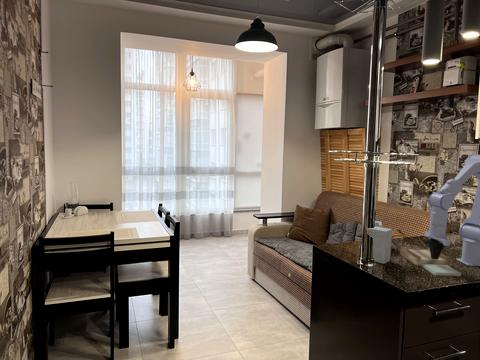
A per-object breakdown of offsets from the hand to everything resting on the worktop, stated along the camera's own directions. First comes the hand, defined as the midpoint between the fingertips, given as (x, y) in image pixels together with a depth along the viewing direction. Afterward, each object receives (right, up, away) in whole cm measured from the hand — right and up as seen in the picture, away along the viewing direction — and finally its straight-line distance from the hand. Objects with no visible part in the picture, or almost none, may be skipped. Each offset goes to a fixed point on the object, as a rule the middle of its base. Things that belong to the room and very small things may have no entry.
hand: (434, 258), depth 139 cm
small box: (-20, -2, +6) cm, 21 cm away
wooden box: (0, -2, +8) cm, 8 cm away
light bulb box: (-13, 0, +29) cm, 32 cm away
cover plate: (0, -4, -4) cm, 6 cm away
